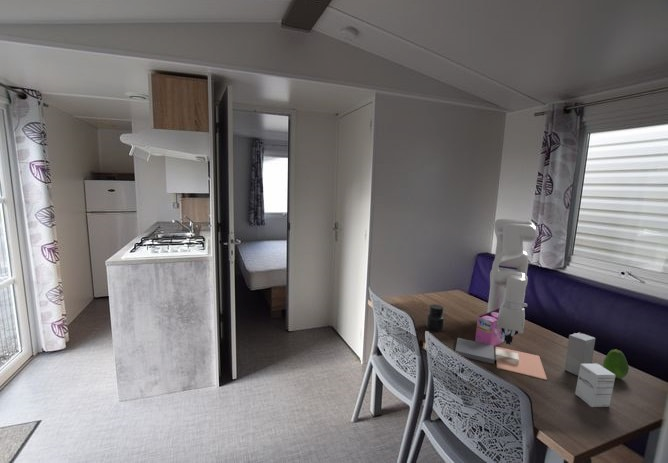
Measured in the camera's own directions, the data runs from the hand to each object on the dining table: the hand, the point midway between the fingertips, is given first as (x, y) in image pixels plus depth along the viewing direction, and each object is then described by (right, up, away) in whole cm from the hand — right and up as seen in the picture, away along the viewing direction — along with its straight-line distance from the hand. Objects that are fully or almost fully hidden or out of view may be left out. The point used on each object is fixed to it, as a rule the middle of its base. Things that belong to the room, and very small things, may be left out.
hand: (507, 342), depth 145 cm
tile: (-1, -7, 0) cm, 7 cm away
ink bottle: (-24, -2, +29) cm, 37 cm away
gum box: (+3, -5, +19) cm, 20 cm away
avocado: (+38, -11, -10) cm, 41 cm away
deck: (-12, -6, +6) cm, 15 cm away
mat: (+4, -8, -2) cm, 9 cm away
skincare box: (+26, -10, -7) cm, 28 cm away
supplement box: (+17, -12, -26) cm, 33 cm away
